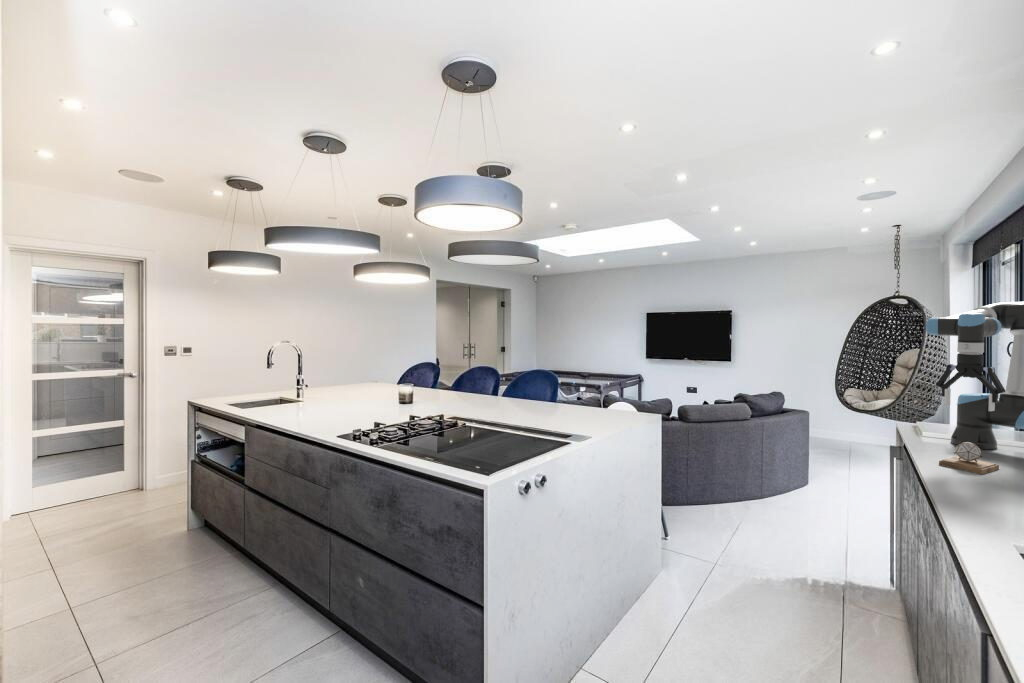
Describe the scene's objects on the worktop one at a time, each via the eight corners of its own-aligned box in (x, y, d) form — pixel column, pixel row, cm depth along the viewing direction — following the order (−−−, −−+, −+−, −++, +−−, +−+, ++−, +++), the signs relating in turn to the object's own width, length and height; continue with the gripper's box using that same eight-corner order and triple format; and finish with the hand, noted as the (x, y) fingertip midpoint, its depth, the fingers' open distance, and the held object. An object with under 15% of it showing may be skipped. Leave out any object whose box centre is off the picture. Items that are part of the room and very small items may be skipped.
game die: (974, 472, 191) (994, 456, 184) (950, 463, 192) (970, 447, 186) (966, 455, 197) (985, 439, 191) (943, 447, 199) (961, 430, 193)
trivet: (956, 460, 200) (956, 455, 200) (998, 469, 188) (999, 464, 188) (939, 464, 195) (939, 459, 195) (981, 474, 183) (981, 469, 183)
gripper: (926, 351, 200) (925, 403, 202) (1009, 356, 178) (1006, 414, 179) (936, 350, 204) (935, 401, 205) (1018, 355, 181) (1016, 412, 182)
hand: (968, 407), depth 192 cm, fingers open, 13 cm apart
